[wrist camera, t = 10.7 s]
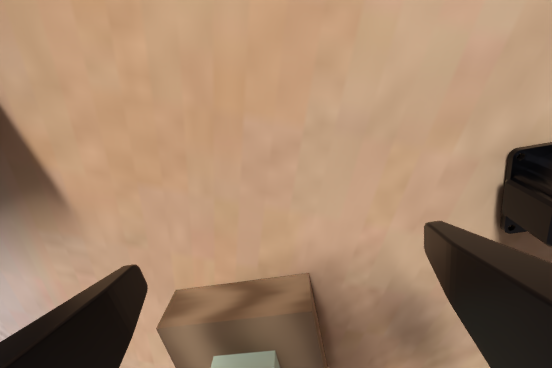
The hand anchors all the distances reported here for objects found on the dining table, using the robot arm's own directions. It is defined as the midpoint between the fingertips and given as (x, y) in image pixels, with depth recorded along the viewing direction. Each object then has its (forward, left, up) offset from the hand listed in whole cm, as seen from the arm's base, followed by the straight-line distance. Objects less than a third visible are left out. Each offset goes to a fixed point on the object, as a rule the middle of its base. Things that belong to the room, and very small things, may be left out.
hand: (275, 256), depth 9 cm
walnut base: (+6, +17, -12) cm, 22 cm away
